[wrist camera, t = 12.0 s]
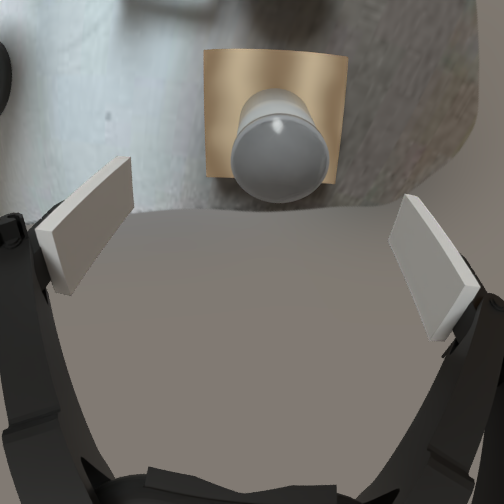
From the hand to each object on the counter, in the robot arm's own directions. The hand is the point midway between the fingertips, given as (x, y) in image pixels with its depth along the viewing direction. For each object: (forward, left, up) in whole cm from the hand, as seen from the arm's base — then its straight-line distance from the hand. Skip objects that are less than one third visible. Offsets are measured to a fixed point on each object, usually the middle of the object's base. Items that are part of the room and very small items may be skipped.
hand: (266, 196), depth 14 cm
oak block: (0, 0, -24) cm, 24 cm away
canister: (0, 0, -18) cm, 18 cm away
